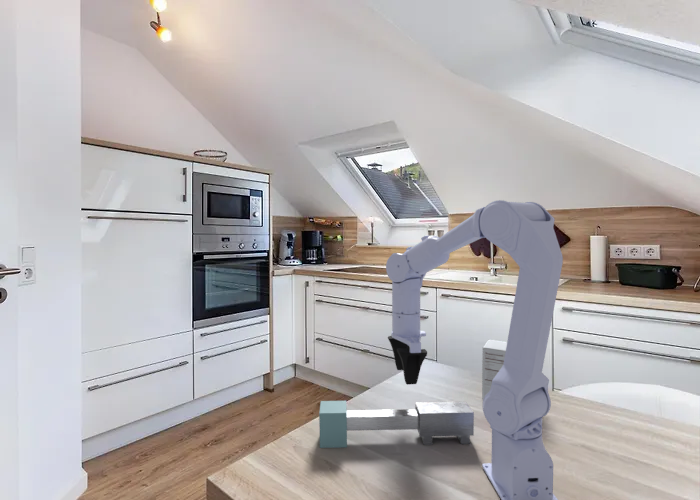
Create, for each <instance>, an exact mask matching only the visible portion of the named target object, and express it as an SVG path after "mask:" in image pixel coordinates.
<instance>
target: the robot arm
mask: <svg viewBox="0 0 700 500" xmlns="http://www.w3.org/2000/svg"><path fill="white" fill-rule="evenodd" d="M555 221H556V219H555V217H553V215H552V214H551V213H549V211H548V210H547V209H546V208H545V207H543V205H541V204H540V203H538V202H534V201H526V202H523V201H522V202H519V201H518V202H517V201H507V200H504V199H503V200H502V199H499V200H494V201H491V202H489V203H488V204H487V205H486V206H483V207H480V208H477V209H476V210H475V211H474V213H473V214H472V215H470V217H468V218H466V219H465V220H463V221H462V222H460V223H459V224H458V225H456V226H454V227H453V228H452V229H450V230H449V231H447V232H446V233H444V234H442V235H441V236H437V235H424V236H422V237H421V241H420V242H418V243H417V244H415V245H413V246H408V247H407V248H406V249H405V251H404V252H403V253H399V252H393V253H392V254H391V255H390V256H389V257H388V258H387V260H386V264H385V270H386V275H387V277H388V279H389V280H390V281H391V283H392V284H391V289H392V291H391V302H392V303H391V305H392V308H391V311H392V312H391V316H392V317H391V318H392V322H391V323H392V324H391V325H392V327H391V335H388V337H387V339H388V341H389V343H390V345H391V349H392V353H393V357H394V363H395V368H396V370H397V371H402V372H403V378H404V383H405V384H406V385H417V383H418V381H419V380H418V379H419V376H420V375H419V374H420V372H421V367H422V365H423V362H425V361H424V360H425V359H426V357H427V356H428V351H427V349H425V348H422V343H421V339H422V337H426V336H427V333H426V331H425V330H421V289H422V287H423V280H424V278H425V276H426V275H427V273H429V272H430V271H432V270H434V269H435V270H436V269H437V268H438V267H441V266H442V265H444V264H446V263H447V262H448V261H449V259H450V253H453V252H455V251H458V250H460V249H461V248H464V247H466V246H467V245H470V244H472V243H474V242H476V241H478V240H480V239H485V238H486V240H487V241H489V242H490V243H491V244H494V245H495V246H496V247H498V248H499V249H501V250H502V251H503V252H505V253H507V254H508V255H509V256H510V257H511V258H512V259H513V261H514V262H515V263H516V265H517V266H518V267H519V271H518V276H517V282H516V289H515V293H514V294H515V295H514V300H513V306H512V312H511V319H510V324H509V330H508V336H507V341H506V342H507V347H506V352H505V358H504V364H503V366H502V368H501V369H500V371H499V372H498V373H497V375H496V376H495V377H494V379H493V380H492V385H491V389H490V391H489V392H488V393H487V394H486V395H485V397H484V399H482V411H483V415H484V417H485V420H486V421H487V423H488V424H489V427H490V429H491V462H486V463H482V464H481V466H482V468H483V471H484V472H485V474H486V476H487V477H488V479H489V481H490V483H491V484H492V486H493V488H494V489H495V491H496V493H497V494H498V497H499V498H500V499H501V500H559V499H558V498H557V496H556V495H555V494H554V493H553V491H554V462H553V459H552V456H550V454H549V453H548V451H547V449H546V447H545V445H544V441H543V417H545V416H546V415H547V414H548V413H549V412H550V411H551V407H552V402H551V397H550V393H549V382H550V379H549V377H547V376H546V375H545V373H543V367H544V363H545V358H546V352H547V346H548V341H549V335H550V331H551V326H552V321H553V316H554V310H555V305H556V300H557V296H558V289H559V285H560V278H561V274H562V267H563V263H564V262H563V261H564V257H563V253H562V250H561V247H560V244H559V241H558V238H557V235H556V232H555V229H554V226H555Z"/></svg>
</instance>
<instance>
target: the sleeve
mask: <svg viewBox="0 0 700 500" xmlns="http://www.w3.org/2000/svg"><path fill="white" fill-rule="evenodd" d="M414 405H415V406H414V407H415V409H417V410H418V413H419V429H416V430H417V432H418V436H419V437H420V439H421V442H422V444H423V446H429V445H430V446H431V445H432V446H433V437H457V439H458V440H459V443H460V445H470V444H471V443H470V442H471V436H472V437H473V436H475V435H474V431H475V429H474V427H475V425H474V424H475V423H474V422H475V421H474V420H475V413H474V410H473V409H472V408H471V407H470V405H469V404H468V402H467V401H436V402H434V401H433V402H432V401H431V402H430V401H429V402H426V401H425V402H424V401H423V402H415V404H414Z"/></svg>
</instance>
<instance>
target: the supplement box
mask: <svg viewBox="0 0 700 500" xmlns="http://www.w3.org/2000/svg"><path fill="white" fill-rule="evenodd" d="M506 347H507V341H504V340H497V339H488V340H487V341H486V342H485V344H484V345H483V346H482V358H481V359H482V360H481V362H482V367H481V368H482V369H481V372H482V373H481V374H482V375H481V379H482V380H481V381H482V382H481V384H482V385H481V386H482V387H481V392H482V396H481V399H482V400H483V399H484V397H485V395H486V394H487V393H488V392H489V391H490V389H491V385H492V380H493V379H494V377H495V376H496V375H497V373H498V372H499V371H500V369H501V368H502V366H503V364H504V358H505V352H506Z"/></svg>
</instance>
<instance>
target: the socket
mask: <svg viewBox="0 0 700 500" xmlns="http://www.w3.org/2000/svg"><path fill="white" fill-rule="evenodd" d="M347 410H348V409H347V400H320V404H319V413H318V416H319V417H318V418H319V419H318V421H319V424H318V425H319V448H320V449H325V448H329V449H331V448H348V431H347Z"/></svg>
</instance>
